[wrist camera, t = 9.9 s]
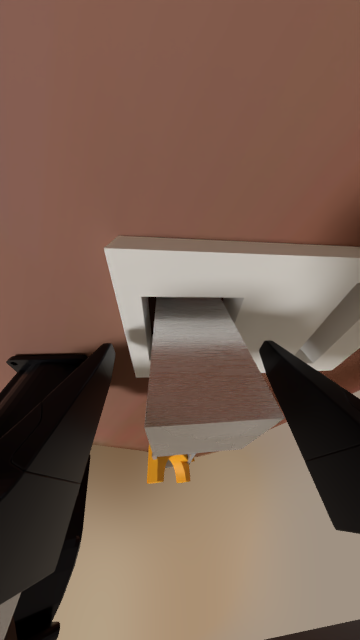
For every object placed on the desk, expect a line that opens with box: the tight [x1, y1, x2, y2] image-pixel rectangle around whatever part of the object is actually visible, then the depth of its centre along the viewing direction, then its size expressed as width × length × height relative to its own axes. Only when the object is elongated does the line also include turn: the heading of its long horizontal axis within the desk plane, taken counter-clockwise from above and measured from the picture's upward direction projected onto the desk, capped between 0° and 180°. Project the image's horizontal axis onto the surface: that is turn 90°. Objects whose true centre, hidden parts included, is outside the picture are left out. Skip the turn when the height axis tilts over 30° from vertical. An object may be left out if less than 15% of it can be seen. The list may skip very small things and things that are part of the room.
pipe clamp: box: [147, 444, 194, 483], centre depth 34 cm, size 12×4×6 cm, turn 34°
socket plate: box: [104, 236, 360, 378], centre depth 11 cm, size 18×10×2 cm, turn 87°
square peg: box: [145, 297, 285, 457], centre depth 8 cm, size 4×4×8 cm
